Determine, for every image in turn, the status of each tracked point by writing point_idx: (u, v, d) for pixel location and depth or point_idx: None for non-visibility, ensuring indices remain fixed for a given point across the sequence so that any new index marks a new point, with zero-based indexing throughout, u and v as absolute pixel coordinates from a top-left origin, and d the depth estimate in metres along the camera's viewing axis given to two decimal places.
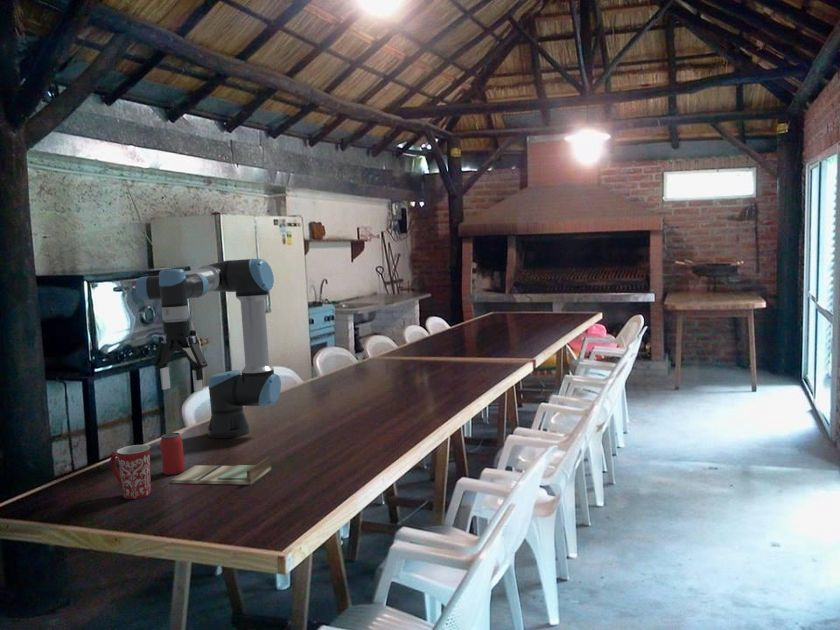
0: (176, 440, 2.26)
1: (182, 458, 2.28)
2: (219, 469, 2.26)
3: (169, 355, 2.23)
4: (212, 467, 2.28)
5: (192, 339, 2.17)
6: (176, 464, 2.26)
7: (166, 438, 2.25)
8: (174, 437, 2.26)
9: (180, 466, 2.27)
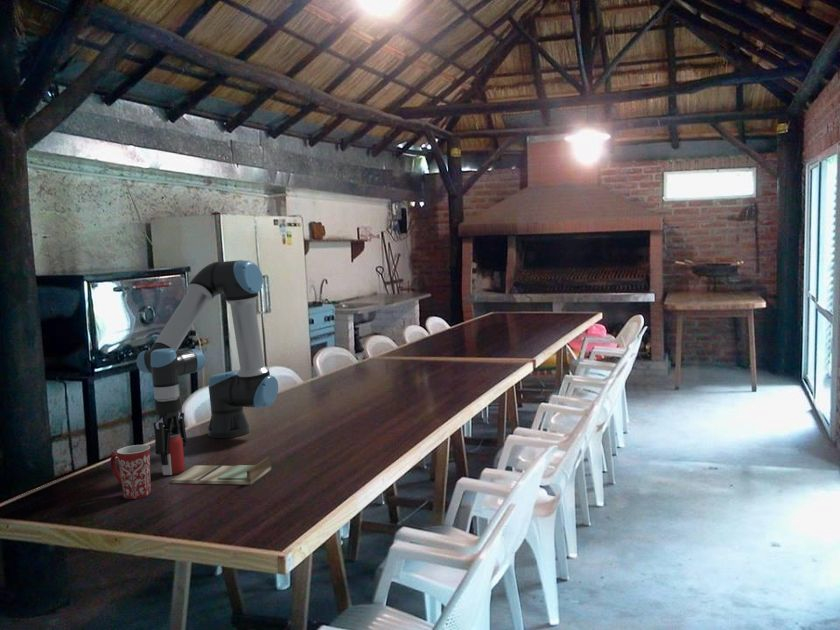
0: (176, 440, 2.26)
1: (182, 458, 2.28)
2: (219, 469, 2.26)
3: (175, 432, 2.30)
4: (212, 467, 2.28)
5: (155, 426, 2.21)
6: (176, 464, 2.26)
7: None
8: (174, 437, 2.26)
9: (180, 465, 2.27)
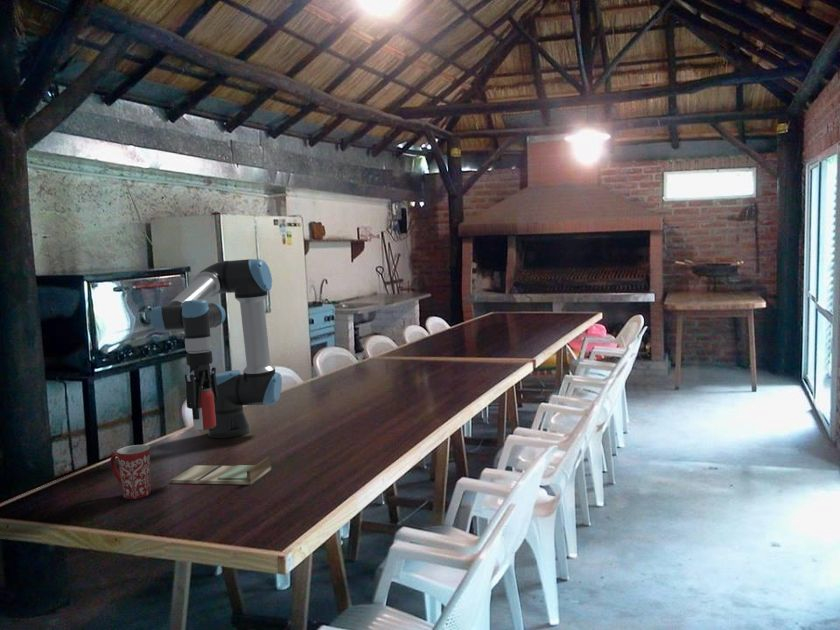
0: (207, 394, 2.18)
1: (213, 413, 2.20)
2: (219, 469, 2.26)
3: (206, 387, 2.23)
4: (212, 467, 2.28)
5: (186, 378, 2.14)
6: (207, 419, 2.18)
7: None
8: (205, 391, 2.18)
9: (211, 421, 2.19)
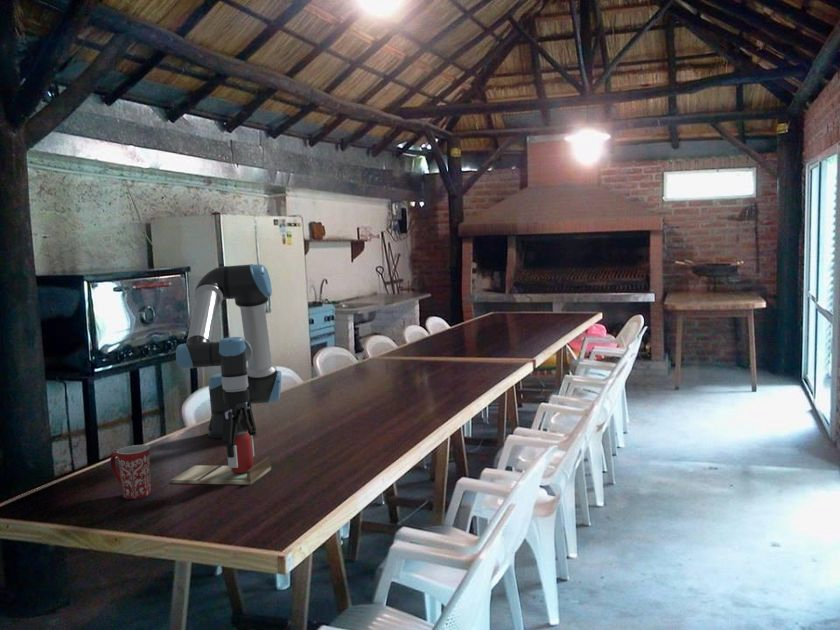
0: (245, 437, 2.17)
1: (251, 456, 2.19)
2: (219, 469, 2.26)
3: (244, 423, 2.22)
4: (212, 467, 2.28)
5: (224, 415, 2.12)
6: (245, 463, 2.17)
7: None
8: (243, 434, 2.17)
9: (249, 464, 2.18)
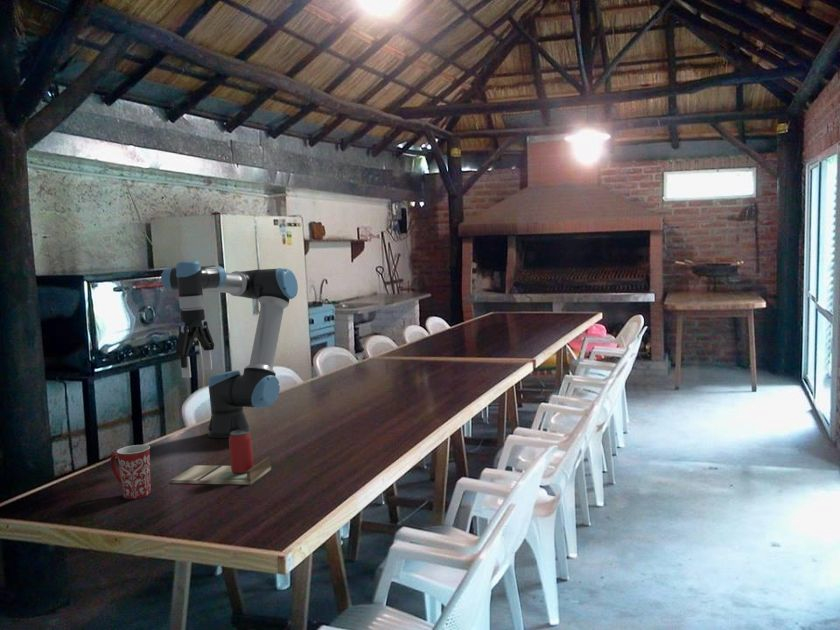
0: (245, 437, 2.17)
1: (251, 456, 2.19)
2: (219, 469, 2.26)
3: (201, 340, 2.42)
4: (212, 467, 2.28)
5: (180, 328, 2.31)
6: (246, 463, 2.17)
7: (235, 435, 2.17)
8: (243, 434, 2.17)
9: (249, 464, 2.18)
